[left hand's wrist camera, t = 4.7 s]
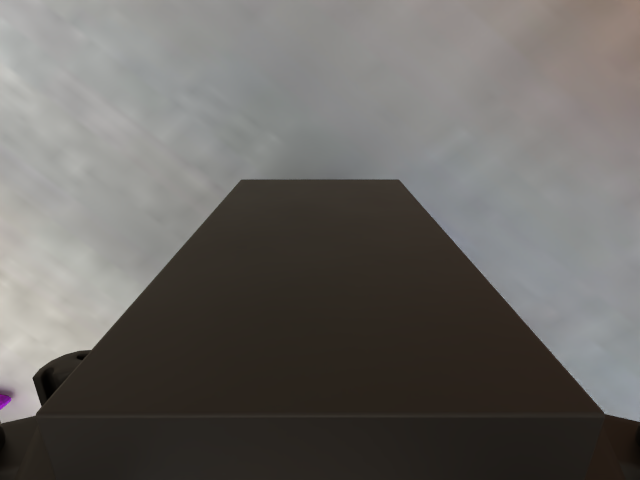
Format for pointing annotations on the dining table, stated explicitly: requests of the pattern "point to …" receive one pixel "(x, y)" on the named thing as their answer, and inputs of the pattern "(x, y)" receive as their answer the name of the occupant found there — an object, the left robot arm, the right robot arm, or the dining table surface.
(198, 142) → the dining table surface
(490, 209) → the dining table surface
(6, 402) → the musical instrument
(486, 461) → the box
